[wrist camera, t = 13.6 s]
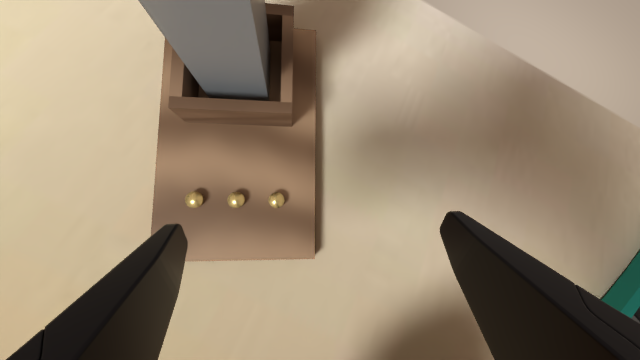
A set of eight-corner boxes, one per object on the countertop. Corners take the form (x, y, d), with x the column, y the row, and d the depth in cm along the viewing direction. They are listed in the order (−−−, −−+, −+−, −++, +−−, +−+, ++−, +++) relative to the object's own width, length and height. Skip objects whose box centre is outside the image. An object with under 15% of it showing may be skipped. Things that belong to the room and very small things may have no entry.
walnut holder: (313, 256, 21) (319, 267, 17) (155, 259, 20) (122, 272, 16) (314, 38, 23) (320, 3, 19) (172, 26, 22) (146, -15, 18)
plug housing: (269, 103, 21) (238, -62, 8) (211, 100, 20) (78, -82, 8) (270, 51, 21) (243, -184, 9) (213, 47, 21) (94, -211, 8)
